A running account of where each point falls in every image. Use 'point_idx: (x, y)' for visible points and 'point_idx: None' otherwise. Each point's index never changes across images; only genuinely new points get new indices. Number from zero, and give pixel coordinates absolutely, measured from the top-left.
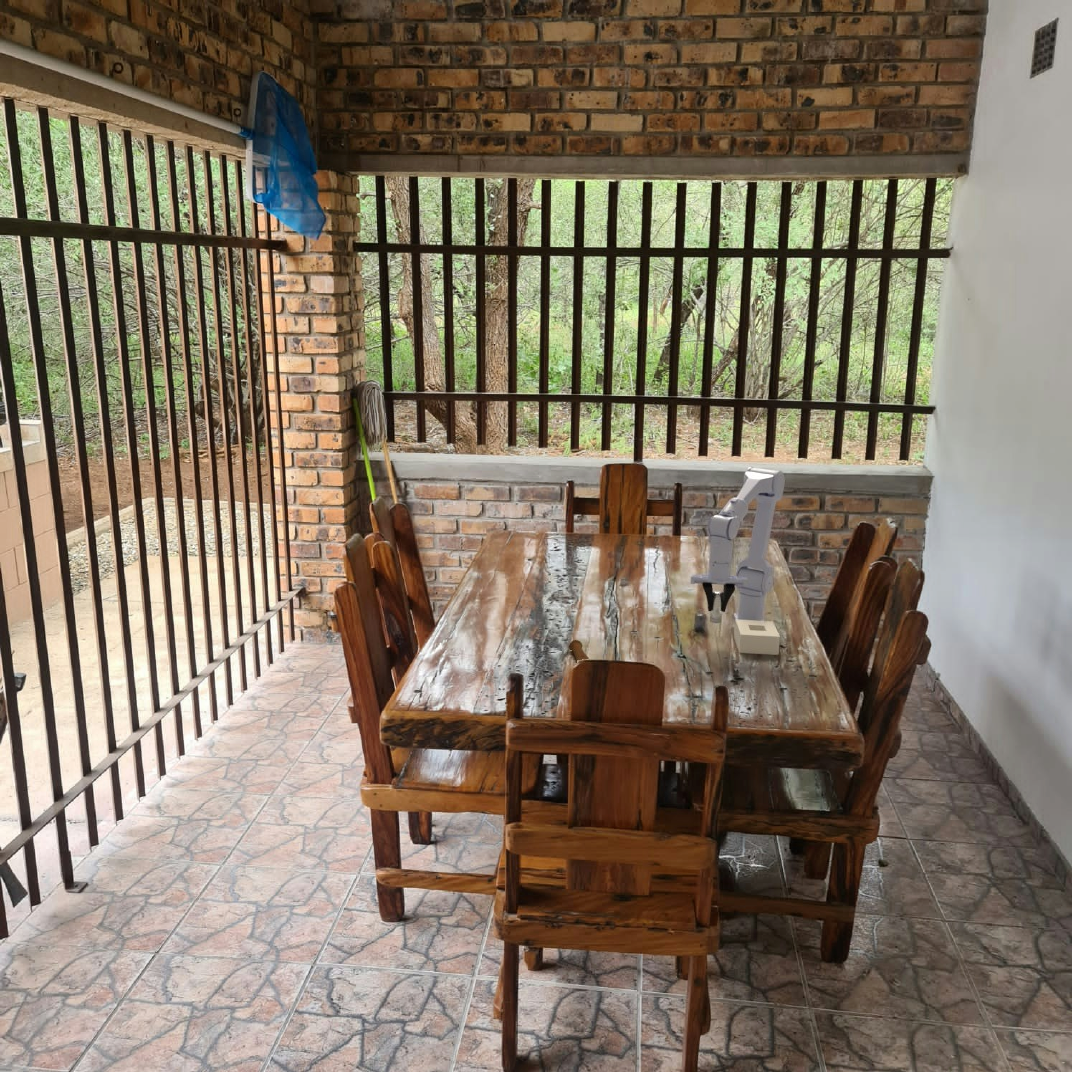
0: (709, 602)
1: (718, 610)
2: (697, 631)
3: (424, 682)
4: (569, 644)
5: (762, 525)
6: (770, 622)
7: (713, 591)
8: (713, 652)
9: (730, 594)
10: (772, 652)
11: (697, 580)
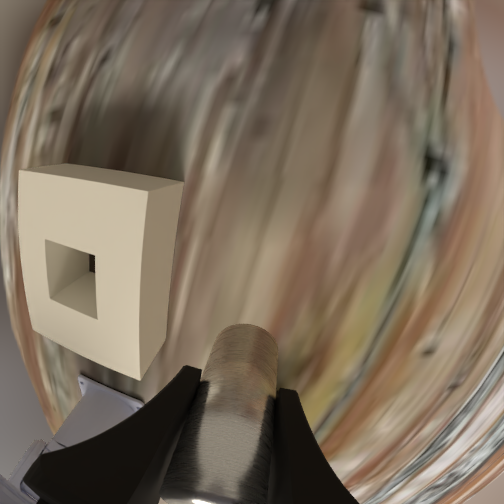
0: (303, 438)
1: (231, 377)
2: (277, 392)
3: None
4: None
5: None
6: (36, 322)
7: None
8: (295, 193)
9: (90, 450)
10: (75, 165)
11: None
